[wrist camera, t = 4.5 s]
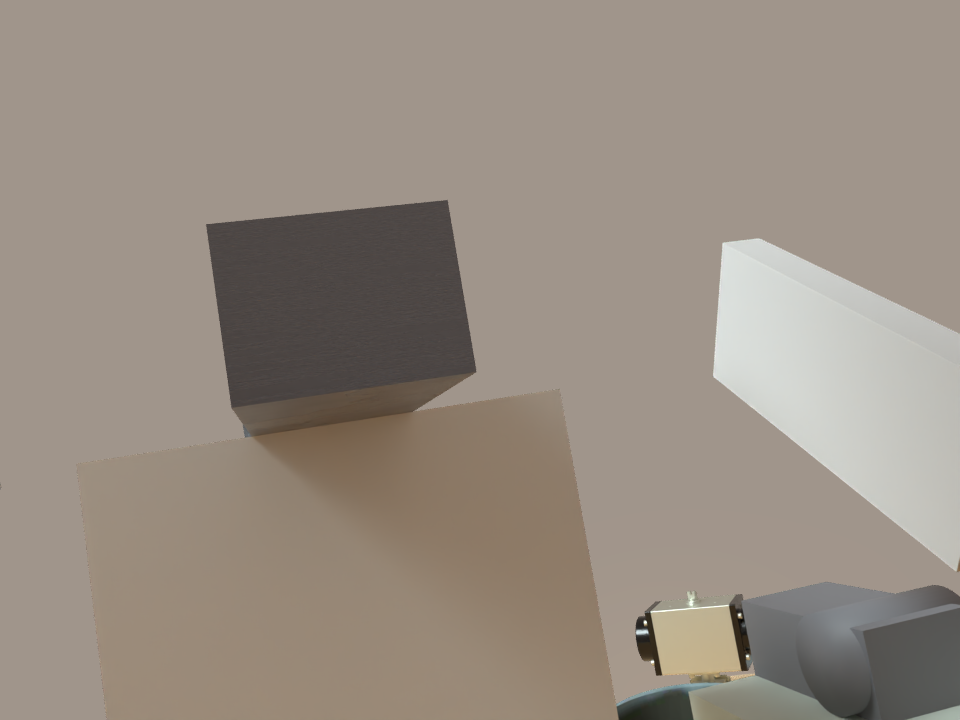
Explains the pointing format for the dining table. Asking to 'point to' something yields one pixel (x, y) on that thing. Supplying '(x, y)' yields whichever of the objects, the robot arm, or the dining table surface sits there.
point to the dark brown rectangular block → (339, 314)
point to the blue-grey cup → (660, 703)
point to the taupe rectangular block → (351, 573)
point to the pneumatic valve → (695, 637)
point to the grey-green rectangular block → (845, 657)
